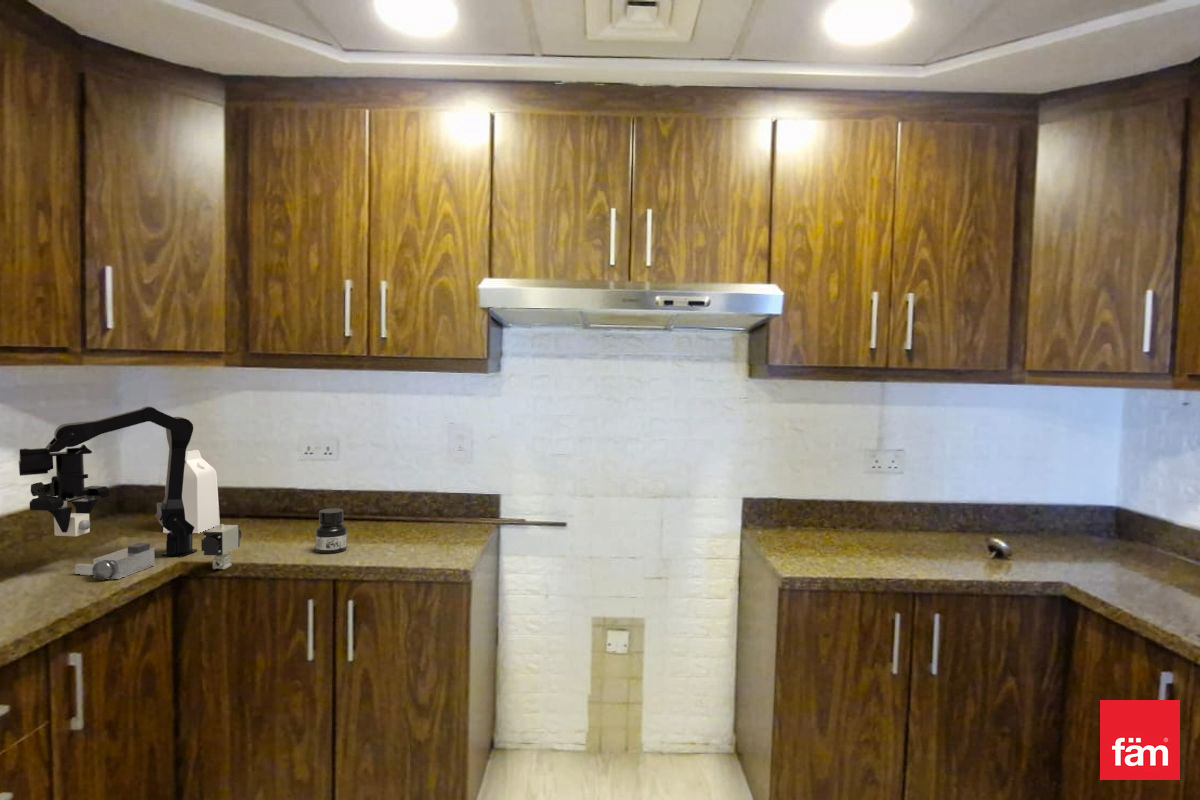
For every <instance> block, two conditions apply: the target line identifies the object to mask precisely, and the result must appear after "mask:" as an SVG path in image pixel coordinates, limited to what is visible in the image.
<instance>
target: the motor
mask: <svg viewBox="0 0 1200 800" xmlns="http://www.w3.org/2000/svg"><path fill="white" fill-rule="evenodd" d="M150 545H151V544H150V543H148V542H147V543H146V542H138V543H136V544H132V545H129V546H127V547H125V548H123V549H120V550H116V551H113V552H110V553H108V554H104V555H102V556H98V557H95V558H93V559H92V561H93V562H92V564H89V563H77V564H75V565H74V573H75V574H80V575H79V576H81V575H82V576H90V575H94V576H93V579H96V580H98V581H105V580H113V579H119V578H122V577H125V576H127V575H130V574H133V573H135V572H138V571H140V570H143V569H145V568H148V567H151V566H153V565H155V563H156V562H155V561H156V560H155V547H151V546H150ZM151 568H152V567H151ZM148 569H149V568H148ZM143 571H144V570H143ZM140 572H141V571H140ZM138 573H139V572H138ZM75 574H74V575H75ZM135 574H136V573H135ZM133 575H134V574H133ZM130 576H131V575H130ZM127 577H128V576H127ZM107 578H109V579H107ZM125 578H126V577H125ZM122 579H123V578H122ZM119 580H120V579H119Z"/></svg>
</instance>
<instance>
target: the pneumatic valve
mask: <svg viewBox="0 0 1200 800" xmlns="http://www.w3.org/2000/svg"><path fill="white" fill-rule="evenodd" d="M242 536H243V535H242V531H241V529H240V524H225V523H220V525H219V526H216V527H214V528H211V529H209V530H206V531H204V532H203V538H202V539H201V543H200V544H201V545H200V546H201V547H200V548H201V552H203V556H213V557H212V561H213V562H212V569H213V570H223V571H224V570H226V569H228V568H229V567H232V564H233V563H232V554H231V551H234V550H235V549H238V548H239V547H240V540H241V538H242ZM227 553H228V554H227Z"/></svg>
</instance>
